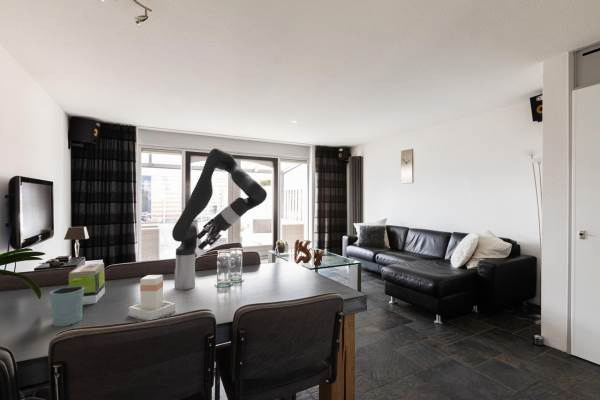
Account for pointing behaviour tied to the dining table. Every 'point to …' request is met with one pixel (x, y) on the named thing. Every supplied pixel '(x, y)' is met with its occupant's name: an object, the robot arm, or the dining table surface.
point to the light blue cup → (67, 305)
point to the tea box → (89, 281)
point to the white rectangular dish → (147, 315)
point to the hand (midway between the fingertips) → (198, 242)
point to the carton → (151, 292)
